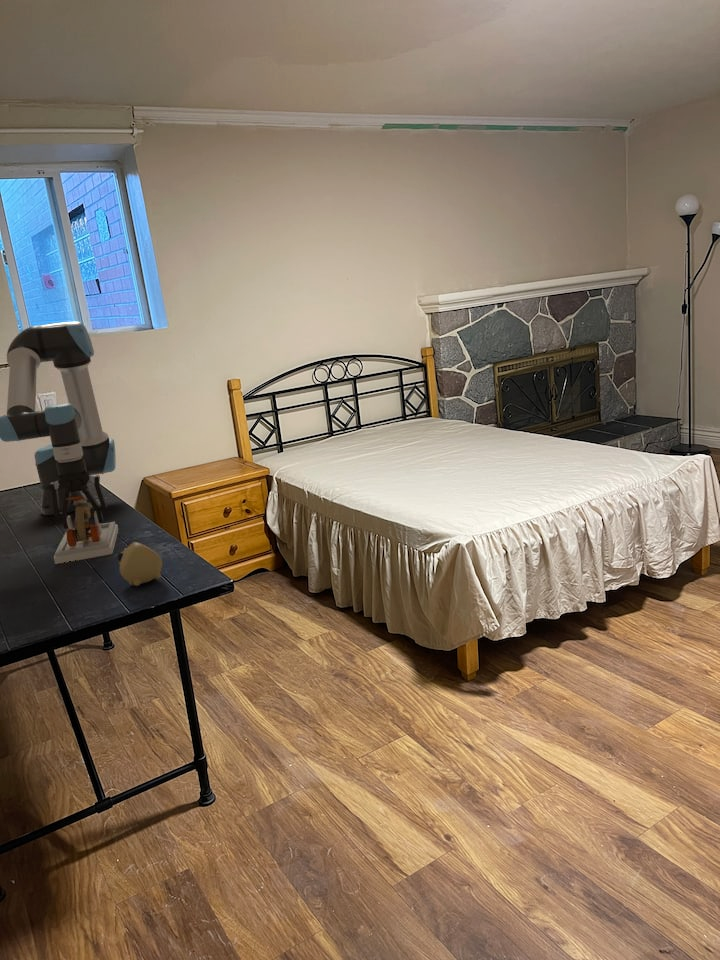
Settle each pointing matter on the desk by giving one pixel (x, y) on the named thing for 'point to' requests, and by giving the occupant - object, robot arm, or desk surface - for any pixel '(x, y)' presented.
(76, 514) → the toy helicopter
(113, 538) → the plate
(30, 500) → the desk surface
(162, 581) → the desk surface
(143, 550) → the toy pig
